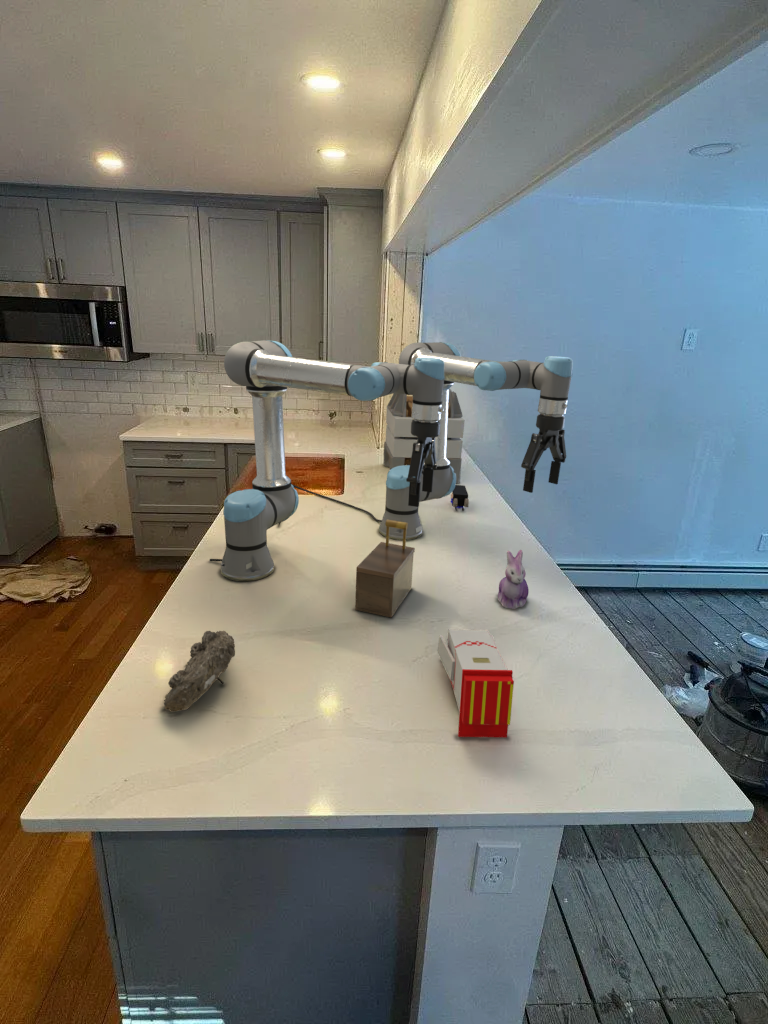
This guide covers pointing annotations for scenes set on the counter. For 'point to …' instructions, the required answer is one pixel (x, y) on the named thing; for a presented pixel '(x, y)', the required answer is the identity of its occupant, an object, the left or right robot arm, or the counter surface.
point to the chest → (383, 591)
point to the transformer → (402, 439)
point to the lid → (387, 555)
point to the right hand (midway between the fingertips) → (540, 487)
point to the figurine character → (459, 497)
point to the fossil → (200, 670)
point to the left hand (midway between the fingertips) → (420, 498)
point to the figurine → (513, 583)
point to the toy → (478, 682)
